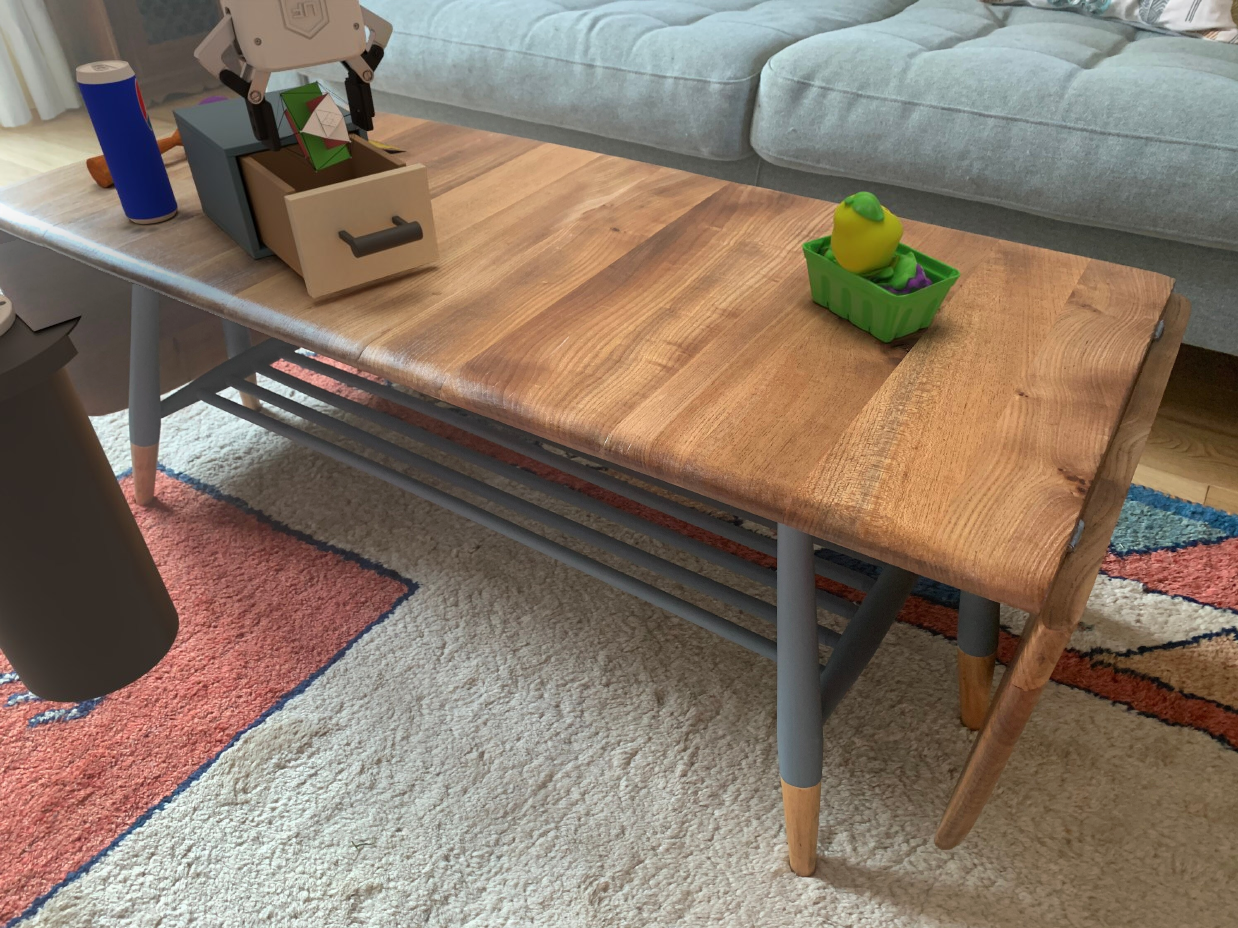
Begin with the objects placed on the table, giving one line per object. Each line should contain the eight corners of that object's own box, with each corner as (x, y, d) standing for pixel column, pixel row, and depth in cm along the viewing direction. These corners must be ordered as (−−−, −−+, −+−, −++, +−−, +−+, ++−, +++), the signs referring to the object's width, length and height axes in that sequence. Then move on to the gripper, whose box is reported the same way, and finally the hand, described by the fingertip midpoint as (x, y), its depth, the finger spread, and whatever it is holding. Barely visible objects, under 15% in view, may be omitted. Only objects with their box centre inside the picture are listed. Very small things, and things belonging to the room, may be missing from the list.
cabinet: (384, 224, 93) (365, 119, 86) (254, 260, 86) (223, 149, 80) (323, 182, 102) (302, 85, 96) (203, 211, 96) (171, 110, 90)
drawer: (462, 275, 81) (450, 179, 75) (333, 317, 75) (310, 216, 69) (371, 213, 93) (355, 127, 87) (253, 245, 87) (228, 154, 81)
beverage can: (187, 215, 95) (140, 65, 86) (139, 229, 92) (84, 76, 83) (167, 203, 98) (118, 57, 89) (119, 216, 95) (64, 66, 86)
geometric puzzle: (247, 140, 79) (266, 70, 73) (306, 119, 83) (328, 51, 77) (304, 200, 79) (327, 135, 73) (360, 176, 84) (386, 113, 78)
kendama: (69, 147, 101) (215, 91, 113) (98, 198, 104) (237, 138, 117) (95, 146, 98) (242, 88, 110) (123, 199, 101) (263, 137, 113)
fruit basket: (953, 329, 74) (985, 195, 67) (875, 359, 70) (900, 221, 63) (855, 277, 81) (875, 153, 75) (780, 303, 78) (793, 174, 71)
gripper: (165, -83, 61) (235, 171, 72) (395, -102, 70) (427, 127, 81) (135, -92, 66) (205, 147, 77) (354, -109, 75) (389, 109, 85)
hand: (318, 136), depth 79 cm, fingers closed on geometric puzzle, 7 cm apart
